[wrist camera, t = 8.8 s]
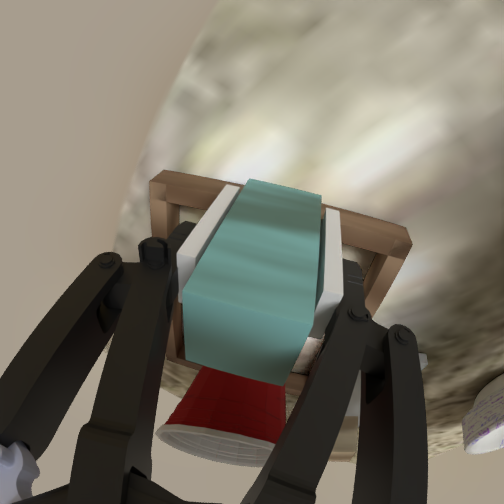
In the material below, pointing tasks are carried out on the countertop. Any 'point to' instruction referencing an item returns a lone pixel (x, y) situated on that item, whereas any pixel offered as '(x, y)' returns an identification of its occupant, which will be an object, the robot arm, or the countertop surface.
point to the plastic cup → (227, 419)
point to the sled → (261, 274)
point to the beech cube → (346, 440)
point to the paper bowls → (485, 420)
